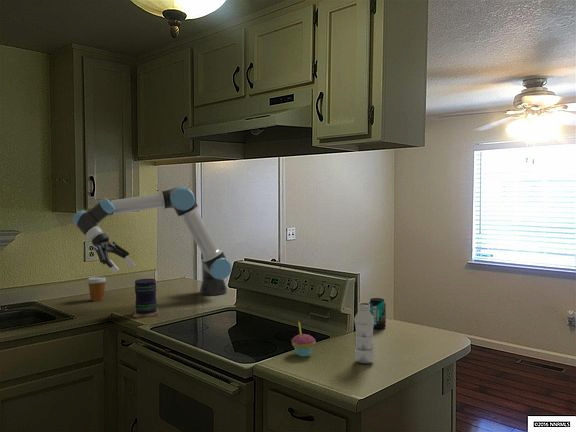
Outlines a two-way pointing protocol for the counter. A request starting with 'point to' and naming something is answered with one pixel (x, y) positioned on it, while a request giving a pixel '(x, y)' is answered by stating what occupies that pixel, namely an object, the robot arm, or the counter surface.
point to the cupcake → (303, 343)
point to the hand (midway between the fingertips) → (125, 269)
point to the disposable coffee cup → (96, 288)
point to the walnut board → (146, 314)
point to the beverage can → (378, 312)
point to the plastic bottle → (364, 334)
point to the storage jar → (145, 296)
